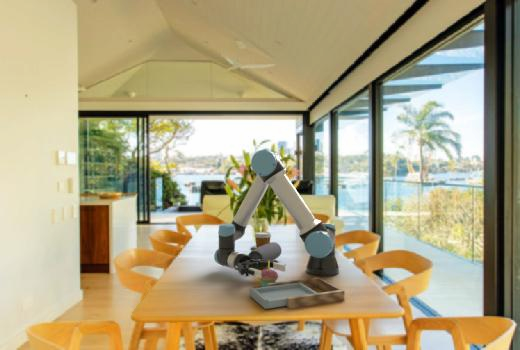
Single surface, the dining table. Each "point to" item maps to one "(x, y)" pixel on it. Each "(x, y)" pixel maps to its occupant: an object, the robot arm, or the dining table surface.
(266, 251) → the bluetooth speaker
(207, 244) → the dining table surface
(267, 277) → the cupcake
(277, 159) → the robot arm
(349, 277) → the dining table surface
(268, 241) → the disposable coffee cup
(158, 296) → the dining table surface
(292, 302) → the dock
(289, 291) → the tray
